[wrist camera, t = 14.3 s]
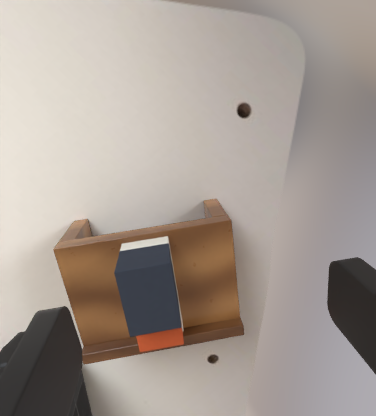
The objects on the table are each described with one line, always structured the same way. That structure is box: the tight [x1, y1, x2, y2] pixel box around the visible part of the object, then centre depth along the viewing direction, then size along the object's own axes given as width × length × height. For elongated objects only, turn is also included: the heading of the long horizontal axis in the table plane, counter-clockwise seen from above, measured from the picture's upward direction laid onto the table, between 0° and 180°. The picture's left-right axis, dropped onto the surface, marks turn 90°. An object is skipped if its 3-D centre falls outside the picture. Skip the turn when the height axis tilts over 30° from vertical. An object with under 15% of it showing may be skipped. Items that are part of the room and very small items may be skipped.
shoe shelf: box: [53, 199, 244, 364], centre depth 31 cm, size 12×16×8 cm
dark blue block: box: [114, 236, 184, 352], centre depth 25 cm, size 10×4×5 cm, turn 8°
